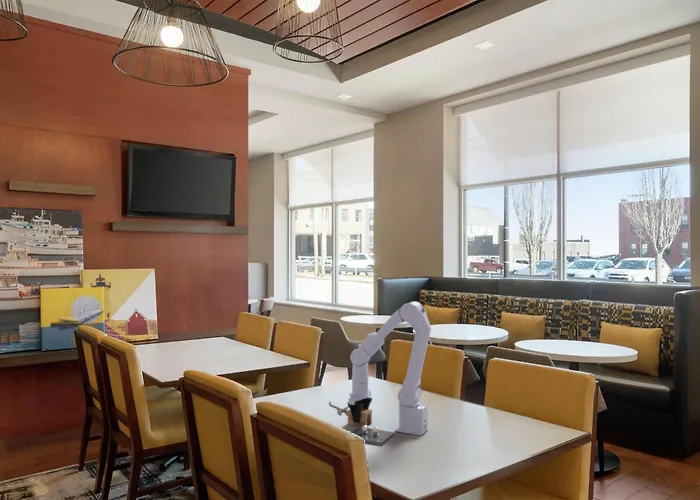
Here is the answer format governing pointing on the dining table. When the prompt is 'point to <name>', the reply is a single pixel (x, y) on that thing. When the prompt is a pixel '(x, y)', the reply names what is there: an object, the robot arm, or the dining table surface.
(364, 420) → the box
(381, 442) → the base plate
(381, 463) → the dining table surface
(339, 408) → the pliers
